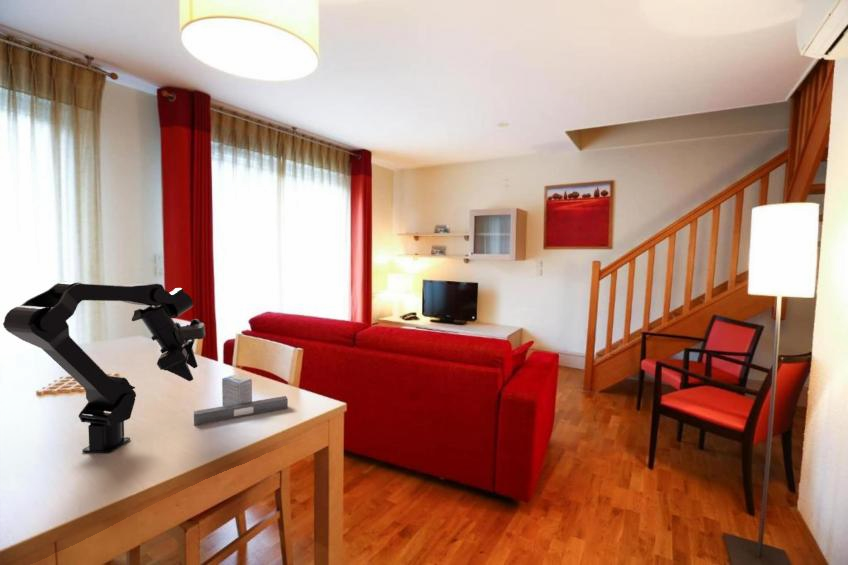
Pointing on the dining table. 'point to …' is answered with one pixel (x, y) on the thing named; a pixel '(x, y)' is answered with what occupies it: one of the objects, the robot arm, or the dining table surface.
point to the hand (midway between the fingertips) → (193, 373)
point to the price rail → (239, 410)
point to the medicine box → (236, 390)
